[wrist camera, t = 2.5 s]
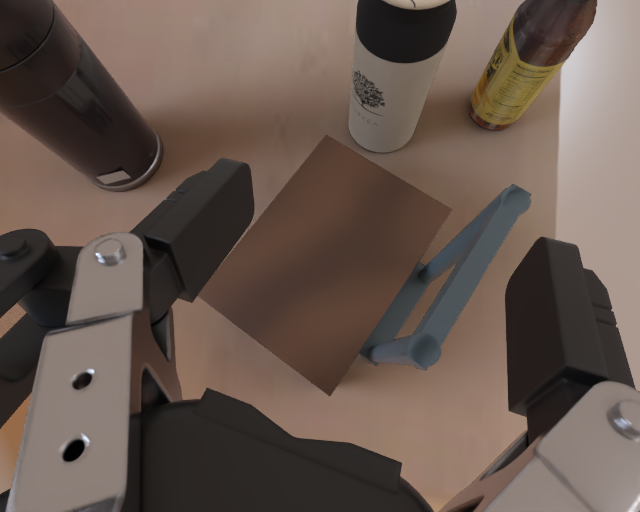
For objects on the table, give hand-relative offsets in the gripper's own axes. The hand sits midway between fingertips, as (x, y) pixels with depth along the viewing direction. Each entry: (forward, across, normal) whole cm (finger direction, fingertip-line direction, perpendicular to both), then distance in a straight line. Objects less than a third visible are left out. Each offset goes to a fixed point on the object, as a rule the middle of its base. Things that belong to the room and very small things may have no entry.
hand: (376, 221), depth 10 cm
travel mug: (+33, +5, +14) cm, 36 cm away
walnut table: (+15, +5, +22) cm, 28 cm away
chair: (+15, +2, +23) cm, 27 cm away
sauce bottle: (+39, -8, +12) cm, 41 cm away
